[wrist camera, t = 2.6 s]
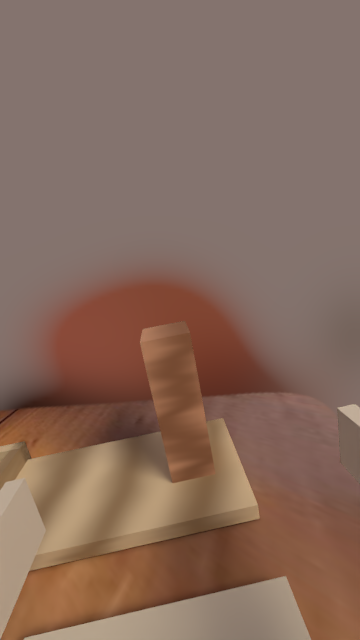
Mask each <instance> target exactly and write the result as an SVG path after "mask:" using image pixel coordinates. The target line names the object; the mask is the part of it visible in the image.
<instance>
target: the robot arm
mask: <svg viewBox="0 0 360 640" xmlns="http://www.w3.org/2000/svg"><path fill="white" fill-rule="evenodd" d="M337 413H338V430H339V447H340V463H341V464H342V465H343V466H344V467H345V468H346V469H347V470H348V471H349V473H350V474H351V475H352V476H353V477H354V478H355V479H356V480H357V481H358V483H359V484H360V408H359V407H358V406H357V405H355V404H353V405H348V406H344V407H339V408H337ZM45 532H46V529H45V527H44V524H43V522H42V519H41V517H40V514H39V512H38V509H37V507H36V504H35V502H34V499H33V497H32V494H31V492H30V489H29V487H28V484H27V482H26V479H25V478H22V479H17V480H13V481H8V482H6V483H5V484H4V485H3V487H2V488H1V490H0V639H1V637H2V634H3V632H4V630H5V627H6V625H7V622H8V620H9V618H10V615H11V613H12V610H13V608H14V606H15V603H16V601H17V598H18V596H19V594H20V591H21V589H22V587H23V584H24V582H25V579H26V577H27V575H28V572H29V570H30V567H31V565H32V563H33V560H34V558H35V555H36V553H37V551H38V548H39V546H40V544H41V541H42V539H43V536H44V534H45Z"/></svg>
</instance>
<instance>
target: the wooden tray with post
mask: <svg viewBox="0 0 360 640" xmlns="http://www.w3.org/2000/svg"><path fill="white" fill-rule="evenodd" d="M140 345H141V349H142V354H143V358H144V362H145V366H146V371H147V375H148V380H149V384H150V388H151V392H152V397H153V401H154V405H155V410H156V414H157V418H158V423H159V427H160V432H155V433H151V434H146V435H141V436H137V437H132V438H127V439H122V440H118V441H113V442H108V443H104V444H99V445H94V446H89V447H85V448H80V449H75V450H71V451H66V452H61V453H57V454H52V455H47V456H42V457H38V458H33V459H31V457H30V454H29V451H28V449H27V446H26V443H25V442H20V443H15V444H10V445H6V446H1V447H0V490H1V488H2V487H3V485H4V484H5V483H6V482H8V481H13V480H17V479H22V478H25V479H26V482H27V484H28V487H29V489H30V492H31V494H32V497H33V499H34V502H35V504H36V507H37V509H38V512H39V514H40V517H41V519H42V522H43V524H44V527H45V529H46V532H45V534H44V536H43V539H42V541H41V544H40V546H39V548H38V551H37V553H36V555H35V558H34V560H33V563H32V565H31V567H30V570H29V571H31V570H36V569H40V568H45V567H49V566H53V565H58V564H62V563H67V562H71V561H75V560H80V559H84V558H89V557H93V556H97V555H102V554H106V553H110V552H115V551H119V550H124V549H128V548H132V547H137V546H141V545H146V544H150V543H154V542H159V541H163V540H168V539H172V538H176V537H181V536H185V535H190V534H194V533H198V532H203V531H207V530H212V529H216V528H220V527H225V526H229V525H233V524H238V523H242V522H247V521H251V520H255V519H260V517H259V510H258V504H257V502H256V499H255V497H254V494H253V492H252V489H251V487H250V484H249V482H248V479H247V477H246V474H245V472H244V469H243V467H242V464H241V462H240V459H239V457H238V455H237V452H236V450H235V447H234V445H233V442H232V440H231V437H230V435H229V432H228V430H227V427H226V425H225V422H224V420H223V418H221V419H216V420H212V421H207V422H206V418H205V413H204V407H203V402H202V396H201V391H200V385H199V380H198V374H197V369H196V363H195V358H194V352H193V347H192V341H191V337H190V332H189V329H188V327H187V325H186V322H185V321H182V322H177V323H172V324H167V325H162V326H157V327H151V328H146V329H143V331H142V336H141V340H140Z"/></svg>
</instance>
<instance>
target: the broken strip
mask: <svg viewBox="0 0 360 640" xmlns="http://www.w3.org/2000/svg"><path fill="white" fill-rule="evenodd" d="M24 640H311V638H310V635H309V633H308V630H307V628H306V625H305V623H304V620H303V618H302V615H301V613H300V610H299V608H298V605H297V603H296V600H295V598H294V595H293V593H292V590H291V588H290V585H289V583H288V580H287V578H286V576H284V577H280V578H275V579H271V580H267V581H263V582H258V583H254V584H250V585H246V586H242V587H237V588H233V589H229V590H225V591H220V592H216V593H212V594H208V595H204V596H199V597H195V598H191V599H187V600H182V601H178V602H174V603H170V604H165V605H161V606H157V607H153V608H149V609H144V610H140V611H136V612H132V613H127V614H123V615H119V616H115V617H111V618H106V619H102V620H98V621H94V622H89V623H85V624H81V625H77V626H72V627H68V628H64V629H60V630H56V631H51V632H47V633H43V634H39V635H34V636H30V637H26V638H24Z"/></svg>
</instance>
